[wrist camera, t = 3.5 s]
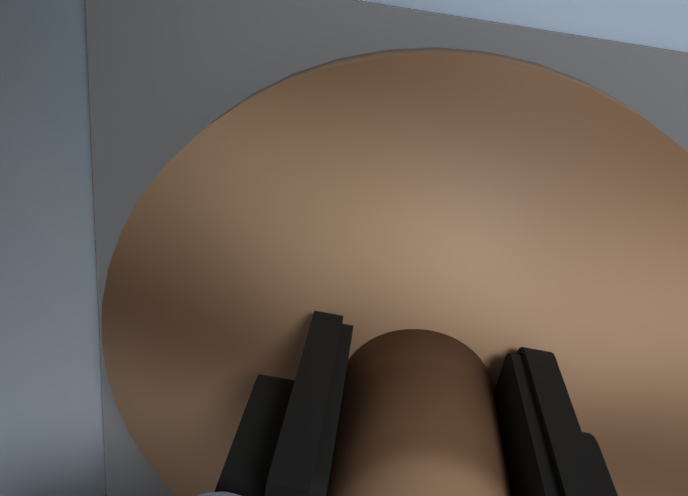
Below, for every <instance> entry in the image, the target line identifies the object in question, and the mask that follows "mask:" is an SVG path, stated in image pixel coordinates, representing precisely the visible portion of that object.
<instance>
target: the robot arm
mask: <svg viewBox="0 0 688 496" xmlns="http://www.w3.org/2000/svg"><path fill="white" fill-rule="evenodd" d="M342 322H343V315H337V314H331V313H326V312H320V311H314V314H313V317H312V321H311V324H310V328H309V331H308V335H307V339H306V342H305V346H304V349H303V353H302V356H301V360H300V364H299V367H298V371H297V374H296V378H295V380H290V379H284V378H279V377H273V376H267V375H262V374H259V375H258V376H257V379H256V381H255V383H254V386H253V389H252V391H251V394H250V397H249V399H248V402H247V405H246V407H245V410H244V413H243V416H242V418H241V421H240V424H239V426H238V429H237V432H236V434H235V437H234V440H233V442H232V445H231V448H230V451H229V453H228V456H227V459H226V461H225V464H224V467H223V469H222V472H221V475H220V478H219V480H218V483H217V486H216V488H215V491H214V492H208V493H204V494H201V495H197V496H326V494H327V488H328V482H329V476H330V470H331V464H332V457H333V451H334V445H335V439H336V432H337V426H338V420H339V414H340V408H341V401H342V395H343V389H344V383H345V376H346V370H347V364H348V358H349V351H350V345H351V339H352V333H353V326H354V325H348V324H343V323H342ZM493 395H494V400H495V406H496V411H497V417H498V422H499V428H500V433H501V439H502V445H503V450H504V456H505V461H506V467H507V472H508V478H509V483H510V489H511V494H512V496H618V494H617V492H616V489H615V487H614V484H613V481H612V479H611V476H610V473H609V471H608V468H607V465H606V463H605V460H604V458H603V455H602V452H601V450H600V447H599V444H598V442H597V440H596V439H595V437H594V436H593V435H592V434H590V433H586V432H582V431H581V428H580V425H579V422H578V419H577V417H576V414H575V411H574V408H573V405H572V403H571V400H570V397H569V394H568V391H567V388H566V386H565V383H564V380H563V377H562V374H561V371H560V369H559V366H558V363H557V360H556V357H555V355H554V353H552V352H548V351H543V350H537V349H531V348H526V347H520V348H519V349H518V351H517V353H516V354H514V353H508V354H507V355H506V357H505V359H504V362H503V366H502V369H501V372H500V375H499V378H498V381H497V384H496V387H495V390H494V394H493Z"/></svg>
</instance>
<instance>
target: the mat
mask: <svg viewBox="0 0 688 496" xmlns="http://www.w3.org/2000/svg"><path fill="white" fill-rule="evenodd" d="M85 10H86V33H87V57H88V80H89V104H90V128H91V151H92V175H93V198H94V222H95V246H96V269H97V293H98V316H99V340H100V363H101V387H102V411H103V434H104V458H105V481H106V496H177V495H176V494H175V493H174V492H173V491H172V490H171V489H170V488H169V487H168V486H167V485H166V484H165V483H164V482H163V481H162V479H161V478H160V477H159V476H158V474H157V473H156V472H155V471H154V469H153V468H152V467H151V465H150V464H149V463H148V462H147V460H146V459H145V458H144V456H143V454H142V453H141V451H140V449H139V448H138V446H137V444H136V443H135V441H134V440H133V438H132V436H131V435H130V433H129V431H128V429H127V427H126V425H125V422H124V420H123V418H122V416H121V414H120V411H119V409H118V407H117V405H116V402H115V399H114V396H113V392H112V389H111V385H110V382H109V379H108V375H107V372H106V366H105V359H104V352H103V344H102V300H103V295H104V289H105V283H106V278H107V272H108V267H109V264H110V261H111V259H112V256H113V253H114V250H115V247H116V244H117V241H118V239H119V236H120V233H121V231H122V229H123V227H124V225H125V224H126V222H127V220H128V218H129V216H130V214H131V213H132V211H133V209H134V207H135V205H136V203H137V202H138V200H139V198H140V197H141V195H142V194H143V193H144V192H145V190H146V189H147V188H148V186H149V185H150V184H151V183H152V181H153V180H154V179H155V177H156V176H157V175H158V174H159V172H160V171H161V170H162V168H163V167H164V166H165V165H166V164H167V163H168V162H169V161H170V160H171V159H172V158H173V157H174V156H175V155H176V154H177V153H178V152H180V151H181V150H182V149H183V148H184V147H185V146H186V145H187V144H188V143H189V142H190V141H191V140H192V139H193V138H194V137H195V136H196V135H198V134H199V133H200V132H201V131H202V130H204V129H205V128H206V127H207V126H208V125H210V124H211V123H212V122H213V121H214V120H216V119H217V118H218V117H220V116H221V115H223V114H224V113H226V112H227V111H228V110H230V109H231V108H233V107H234V106H236V105H237V104H238V103H240V102H241V101H243V100H244V99H246V98H247V97H249V96H250V95H251V94H253V93H255V92H257V91H259V90H261V89H263V88H265V87H267V86H269V85H271V84H273V83H275V82H277V81H279V80H281V79H283V78H285V77H287V76H289V75H291V74H294V73H297V72H300V71H303V70H306V69H309V68H312V67H315V66H318V65H321V64H324V63H327V62H330V61H333V60H336V59H340V58H345V57H350V56H356V55H361V54H366V53H372V52H377V51H382V50H392V49H412V48H431V47H439V48H450V49H462V50H474V51H485V52H490V53H495V54H499V55H504V56H508V57H513V58H517V59H521V60H526V61H530V62H535V63H538V64H540V65H543V66H546V67H548V68H551V69H553V70H556V71H559V72H561V73H564V74H567V75H569V76H572V77H575V78H577V79H580V80H582V81H584V82H586V83H588V84H589V85H591V86H593V87H595V88H597V89H598V90H600V91H602V92H604V93H606V94H607V95H609V96H611V97H613V98H615V99H616V100H618V101H620V102H622V103H624V104H625V105H626V106H628V107H629V108H631V109H632V110H633V111H635V112H636V113H638V114H639V115H640V116H642V117H643V118H645V119H646V120H647V121H649V122H650V123H651V124H653V125H654V126H655V127H656V128H658V129H659V130H660V131H662V132H663V133H664V134H665V135H667V136H668V137H669V138H671V139H672V140H673V141H674V142H676V143H677V144H678V145H680V146H681V147H682V148H683V149H685V150H686V151H687V152H688V53H686V52H680V51H674V50H667V49H661V48H655V47H648V46H642V45H636V44H630V43H623V42H617V41H611V40H604V39H598V38H592V37H585V36H579V35H573V34H566V33H560V32H554V31H548V30H541V29H535V28H529V27H522V26H516V25H510V24H503V23H497V22H491V21H484V20H478V19H472V18H466V17H459V16H453V15H447V14H440V13H434V12H428V11H421V10H415V9H409V8H402V7H396V6H390V5H384V4H377V3H371V2H365V1H358V0H85Z"/></svg>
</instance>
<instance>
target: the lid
mask: <svg viewBox="0 0 688 496" xmlns="http://www.w3.org/2000/svg"><path fill="white" fill-rule="evenodd" d="M314 311H320V312H326V313H331V314H337V315H343V322H342V323H343V324H348V325H354V326H353V333H352V339H351V345H350V351H349V358H348V364H347V370H346V376H345V383H344V389H343V395H342V401H341V408H340V414H339V420H338V426H337V432H336V439H335V445H334V451H333V457H332V464H331V470H330V476H329V482H328V488H327V494H326V496H512V494H511V489H510V483H509V478H508V472H507V467H506V461H505V456H504V450H503V445H502V439H501V433H500V428H499V422H498V417H497V411H496V406H495V400H494V395H493V394H494V390H495V387H496V384H497V381H498V378H499V375H500V372H501V369H502V366H503V362H504V359H505V357H506V355H507V354H508V353H514V354H516V353H517V351H518V349H519V348H520V347H526V348H531V349H537V350H543V351H548V352H552V353H554V355H555V357H556V360H557V363H558V366H559V369H560V371H561V374H562V377H563V380H564V383H565V386H566V388H567V391H568V394H569V397H570V400H571V403H572V405H573V408H574V411H575V414H576V417H577V419H578V422H579V425H580V428H581V431H582V432H586V433H590V434H592V435H593V436H594V437H595V439H596V440H597V442H598V444H599V447H600V450H601V452H602V455H603V458H604V460H605V463H606V465H607V468H608V471H609V473H610V476H611V479H612V481H613V484H614V487H615V489H616V492H617V494H618V496H688V152H687V151H686V150H685V149H683V148H682V147H681V146H680V145H678V144H677V143H676V142H674V141H673V140H672V139H671V138H669V137H668V136H667V135H665V134H664V133H663V132H662V131H660V130H659V129H658V128H656V127H655V126H654V125H653V124H651V123H650V122H649V121H647V120H646V119H645V118H643V117H642V116H640V115H639V114H638V113H636V112H635V111H633V110H632V109H631V108H629V107H628V106H626V105H625V104H624V103H622V102H620V101H618V100H616V99H615V98H613V97H611V96H609V95H607V94H606V93H604V92H602V91H600V90H598V89H597V88H595V87H593V86H591V85H589V84H588V83H586V82H584V81H582V80H580V79H577V78H575V77H572V76H569V75H567V74H564V73H561V72H559V71H556V70H553V69H551V68H548V67H546V66H543V65H540V64H538V63H535V62H530V61H526V60H521V59H517V58H513V57H508V56H504V55H499V54H495V53H490V52H485V51H474V50H462V49H450V48H439V47H431V48H412V49H392V50H382V51H377V52H372V53H366V54H361V55H356V56H350V57H345V58H340V59H336V60H333V61H330V62H327V63H324V64H321V65H318V66H315V67H312V68H309V69H306V70H303V71H300V72H297V73H294V74H291V75H289V76H287V77H285V78H283V79H281V80H279V81H277V82H275V83H273V84H271V85H269V86H267V87H265V88H263V89H261V90H259V91H257V92H255V93H253V94H251V95H250V96H249V97H247V98H246V99H244V100H243V101H241V102H240V103H238V104H237V105H236V106H234V107H233V108H231V109H230V110H228V111H227V112H226V113H224V114H223V115H221V116H220V117H218V118H217V119H216V120H214V121H213V122H212V123H211V124H210V125H208V126H207V127H206V128H205V129H204V130H202V131H201V132H200V133H199V134H198V135H196V136H195V137H194V138H193V139H192V140H191V141H190V142H189V143H188V144H187V145H186V146H185V147H184V148H183V149H182V150H181V151H180V152H178V153H177V154H176V155H175V156H174V157H173V158H172V159H171V160H170V161H169V162H168V163H167V164H166V165H165V166H164V167H163V168H162V170H161V171H160V172H159V174H158V175H157V176H156V177H155V179H154V180H153V181H152V183H151V184H150V185H149V186H148V188H147V189H146V190H145V192H144V193H143V194H142V195H141V197H140V198H139V200H138V202H137V203H136V205H135V207H134V209H133V211H132V213H131V214H130V216H129V218H128V220H127V222H126V224H125V225H124V227H123V229H122V231H121V233H120V236H119V239H118V241H117V244H116V247H115V250H114V253H113V256H112V259H111V261H110V264H109V267H108V272H107V278H106V283H105V289H104V295H103V300H102V344H103V352H104V359H105V366H106V372H107V375H108V379H109V382H110V385H111V389H112V392H113V396H114V399H115V402H116V405H117V407H118V409H119V411H120V414H121V416H122V418H123V420H124V422H125V425H126V427H127V429H128V431H129V433H130V435H131V436H132V438H133V440H134V441H135V443H136V444H137V446H138V448H139V449H140V451H141V453H142V454H143V456H144V458H145V459H146V460H147V462H148V463H149V464H150V465H151V467H152V468H153V469H154V471H155V472H156V473H157V474H158V476H159V477H160V478H161V479H162V481H163V482H164V483H165V484H166V485H167V486H168V487H169V488H170V489H171V490H172V491H173V492H174V493H175V494H176V495H177V496H197V495H201V494H204V493H208V492H214V491H215V488H216V486H217V483H218V480H219V478H220V475H221V472H222V469H223V467H224V464H225V461H226V459H227V456H228V453H229V451H230V448H231V445H232V442H233V440H234V437H235V434H236V432H237V429H238V426H239V424H240V421H241V418H242V416H243V413H244V410H245V407H246V405H247V402H248V399H249V397H250V394H251V391H252V389H253V386H254V383H255V381H256V379H257V376H258V375H259V374H262V375H267V376H273V377H279V378H284V379H290V380H295V378H296V374H297V371H298V367H299V364H300V360H301V356H302V353H303V349H304V346H305V342H306V339H307V335H308V331H309V328H310V324H311V321H312V317H313V314H314Z"/></svg>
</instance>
